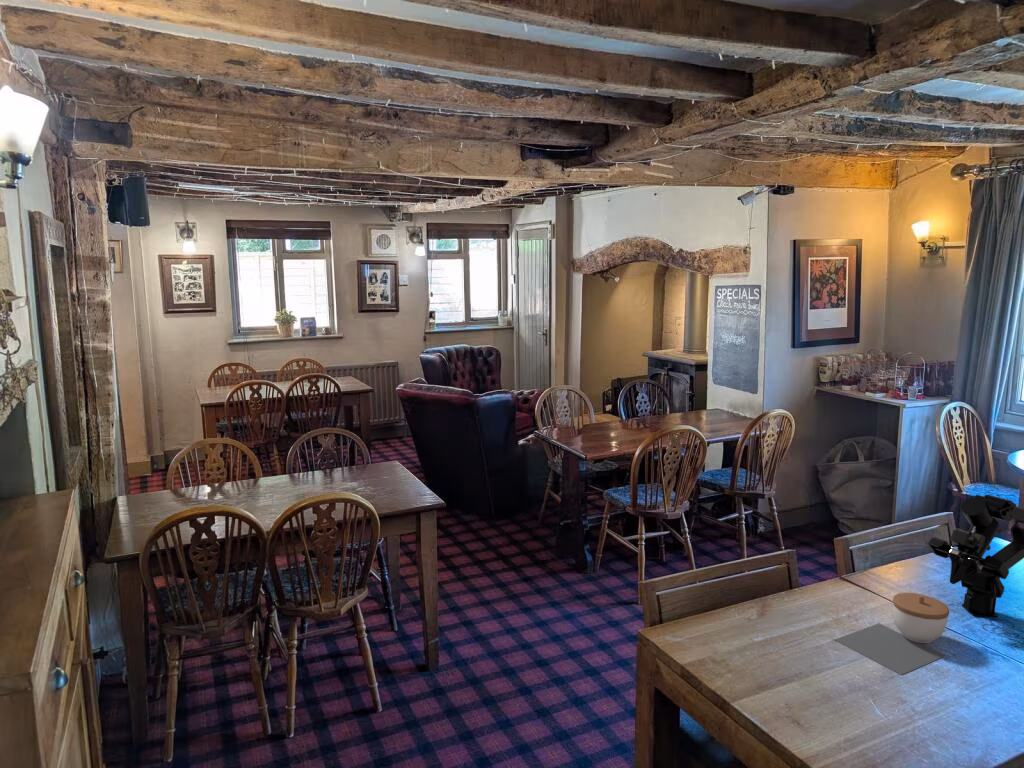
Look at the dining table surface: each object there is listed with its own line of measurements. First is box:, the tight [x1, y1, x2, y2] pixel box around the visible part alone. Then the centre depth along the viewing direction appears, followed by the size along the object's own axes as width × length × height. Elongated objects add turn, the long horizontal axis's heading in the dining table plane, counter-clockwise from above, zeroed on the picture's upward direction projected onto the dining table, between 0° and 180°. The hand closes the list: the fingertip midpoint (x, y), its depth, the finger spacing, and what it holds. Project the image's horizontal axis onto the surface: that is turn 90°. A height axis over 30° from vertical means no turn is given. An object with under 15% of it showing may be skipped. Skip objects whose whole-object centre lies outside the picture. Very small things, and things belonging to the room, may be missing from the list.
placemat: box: [834, 622, 947, 676], centre depth 178 cm, size 18×18×1 cm
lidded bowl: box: [892, 592, 950, 644], centre depth 183 cm, size 13×13×11 cm
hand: (951, 583), depth 188 cm, fingers closed
